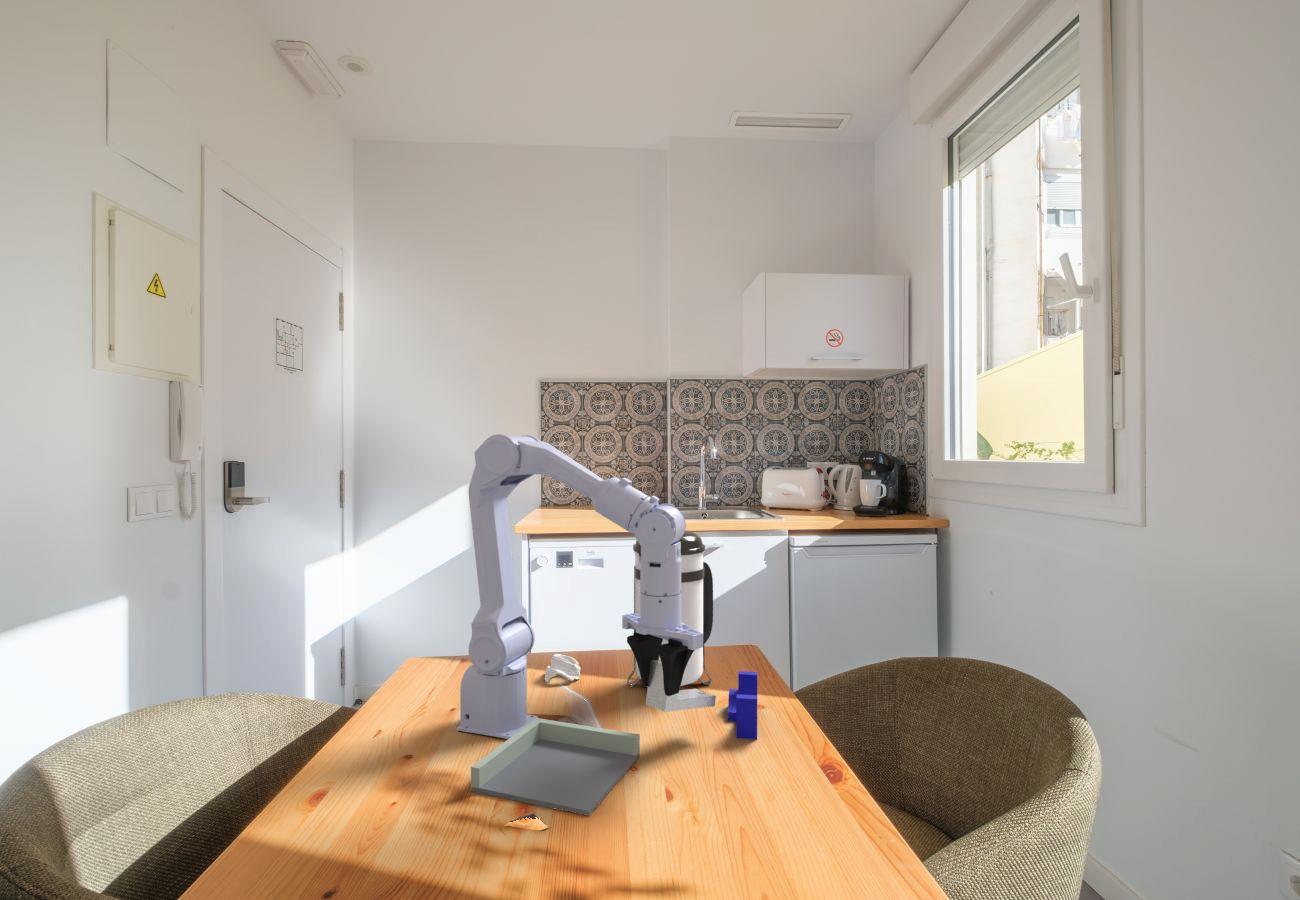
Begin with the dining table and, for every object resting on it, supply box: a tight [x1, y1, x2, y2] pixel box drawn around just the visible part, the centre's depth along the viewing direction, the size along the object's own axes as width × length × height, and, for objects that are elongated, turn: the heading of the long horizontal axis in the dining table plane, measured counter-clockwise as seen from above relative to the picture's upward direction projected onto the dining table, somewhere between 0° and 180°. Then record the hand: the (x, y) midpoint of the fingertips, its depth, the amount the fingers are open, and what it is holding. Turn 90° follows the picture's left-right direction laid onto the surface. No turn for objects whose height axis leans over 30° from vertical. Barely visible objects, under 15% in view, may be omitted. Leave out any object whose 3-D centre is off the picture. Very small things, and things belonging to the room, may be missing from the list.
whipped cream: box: [544, 653, 582, 684], centre depth 124 cm, size 8×7×5 cm
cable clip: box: [727, 670, 758, 740], centre depth 104 cm, size 12×4×6 cm, turn 171°
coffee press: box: [626, 529, 714, 687], centre depth 122 cm, size 17×16×30 cm
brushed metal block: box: [645, 660, 717, 713], centre depth 98 cm, size 10×4×6 cm, turn 131°
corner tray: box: [470, 717, 641, 816], centre depth 88 cm, size 16×16×3 cm
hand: (660, 689), depth 95 cm, fingers closed on brushed metal block, 4 cm apart
